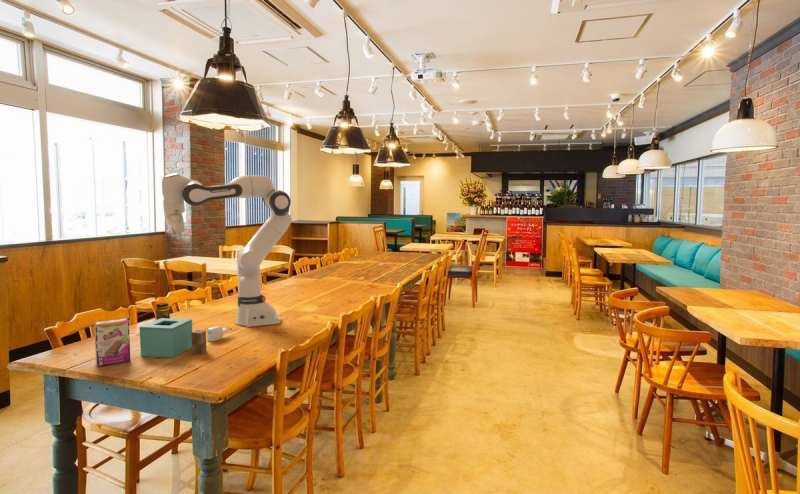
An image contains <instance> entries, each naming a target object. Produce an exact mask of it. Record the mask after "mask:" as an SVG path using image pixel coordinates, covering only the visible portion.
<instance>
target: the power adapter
mask: <svg viewBox="0 0 800 494" xmlns="http://www.w3.org/2000/svg"><path fill="white" fill-rule="evenodd" d="M231 330H233V328H231V327H230V328H229V327H222V326H219V325H215V326H210V327H208V328H207V330H206V338H207V340H208V341H209V342H216V341H220V340H222V339H223V338H224V337H223V336H224V335H223V334H226V333H229V331H231Z"/></svg>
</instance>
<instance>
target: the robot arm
mask: <svg viewBox="0 0 800 494" xmlns="http://www.w3.org/2000/svg"><path fill="white" fill-rule="evenodd" d="M161 179H162V180H161V193H162V196H163V201H162V204H163V213H164V214H165V217H166V222H167V224H168V225H169V226H170V230H171V234H172V236H176V240H177V241H179V240H180V241H181V240H182V233H184V232H185V221H184V220H185V219H184V217H183V213H185V212H186V211H185V210H186V209H185V208H186V207H185V203H186V204H187V205H189V206H195V207H197V206H201V205H203V204H205V203H206V202H209V201H214V200H221V199H222V200H223V199H231V198H232V199H234V198H235V199H237V198H239V199H250V198H251V199H252V198H261V199H262V201H263V203H264V205H265V206H266V208H268V209H269V210H271V211H270V215H269V217H268V218H267V219H266V220H265V222H264V223H263V224H262V225H261V226H260V227H259V229H258V230H257V231H256V232H255V233H254V235H253V236H252V238H251V239H250V240H249V242H247V244H246V245H245V246H243V247H241V248H240V249H239V250H238V252H237V256H236V263H237V282H238V283H237V287H238V289H237V291H238V295H237V307H238V308H237V309H238V310H237V317H236V321H235V324H236V325H238V326H244V327H248V328H250V327H260V326H261V327H262V326H269V325H278V324H280V323H281V322H282V318H281V316H279V315H278V314H277V311H276V308H275V307H274V306H272V305H271V304H269V303H268V302H266V300H267V298H266V295H264V294H262V277H261V268H260V267H261V266H260V265H261V264H262V263H263V261H264V260H265V259H266V258H267V256H268V255H269V254H270V251H272V248H274V247H275V245H276V244H277V243H278V242H279V240H280V239H281V238H282V237H283V235H284V234H285V233H286V231H287V230H288V228H289V227H290V226H291V223H292V222H293V221H292V216H291V214H290V213H289V212H290V207H291V202H292V201H291V197H290V196H289V194H288V193H287V192H285V191H283V190H281V189H276V188H275V187H274V184H273V180H272V179H271V177H270V176H266V175H259V174H257V175H256V174H255V175H254V174H252V175H249V174H248V175H241V176H237V177H234V178H233V179H232V180H231V181H230V182H227V183H226V184H220V185H218V184H217V185H210V186H206V185H203V184H202V183H201V182H199V180H195V179H191V178H189V177H185V176H183V175H182V174H180V173H170V174H166V175H164V176H163V177H162V178H161Z"/></svg>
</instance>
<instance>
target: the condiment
mask: <svg viewBox="0 0 800 494" xmlns="http://www.w3.org/2000/svg"><path fill="white" fill-rule="evenodd" d="M170 313H171V311H170V308H169V302H158V303H156V309H155V316H156V318H155V321H156V320H158V319H161V318H169V319H171V314H170Z"/></svg>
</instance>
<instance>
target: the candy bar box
mask: <svg viewBox="0 0 800 494" xmlns="http://www.w3.org/2000/svg"><path fill="white" fill-rule="evenodd" d="M93 326H94V345H95V347H94V349H95V363H96V367H97V368H98V366H100V367H105V366H104V365H106V366H110V365H109V364H111V365H116V364H115V363H117V364H121V362H123V363H128V362H131V342H130V340H131V339H130V337H131V336H130V321H129V320H128V318H121V319H111V320H104V321H96V322H94V325H93ZM127 361H128V362H127Z"/></svg>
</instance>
